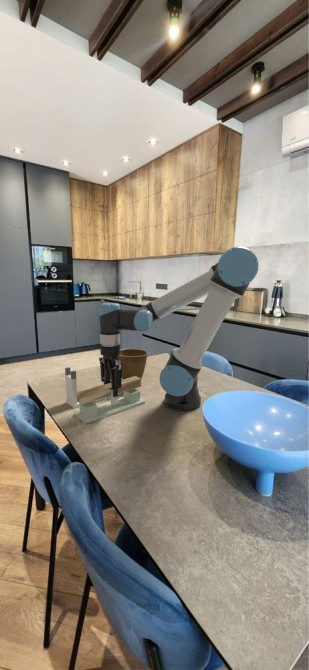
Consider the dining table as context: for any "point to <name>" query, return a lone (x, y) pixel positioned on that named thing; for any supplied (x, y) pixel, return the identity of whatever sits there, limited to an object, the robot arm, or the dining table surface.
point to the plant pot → (132, 362)
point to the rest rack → (108, 407)
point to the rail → (106, 390)
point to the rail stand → (74, 388)
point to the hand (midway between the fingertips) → (111, 401)
